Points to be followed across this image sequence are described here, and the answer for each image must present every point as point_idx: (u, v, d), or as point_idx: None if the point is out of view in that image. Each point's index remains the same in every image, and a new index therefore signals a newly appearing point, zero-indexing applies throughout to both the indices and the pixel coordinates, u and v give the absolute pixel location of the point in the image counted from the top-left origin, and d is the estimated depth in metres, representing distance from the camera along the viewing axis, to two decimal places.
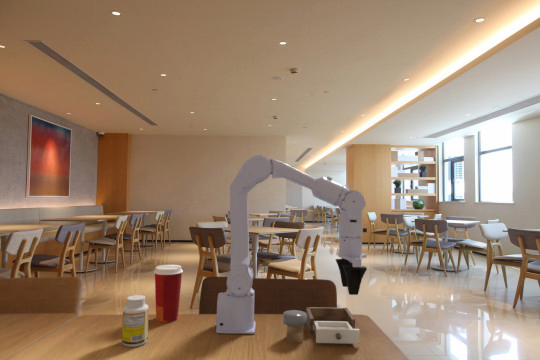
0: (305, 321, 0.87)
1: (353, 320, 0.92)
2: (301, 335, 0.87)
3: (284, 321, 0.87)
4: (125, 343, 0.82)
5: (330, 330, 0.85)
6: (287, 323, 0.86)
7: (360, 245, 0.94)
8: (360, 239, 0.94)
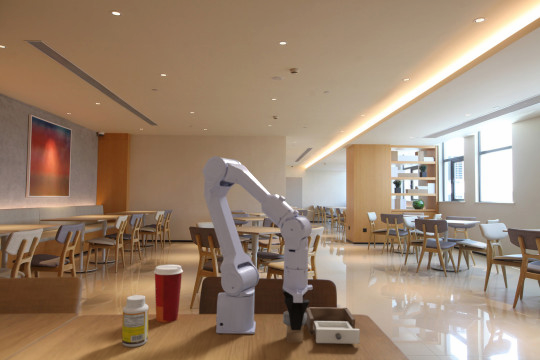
0: (305, 321, 0.87)
1: (353, 320, 0.92)
2: (301, 335, 0.87)
3: (284, 321, 0.87)
4: (125, 343, 0.82)
5: (330, 330, 0.85)
6: (287, 323, 0.86)
7: (305, 277, 0.87)
8: (305, 270, 0.87)
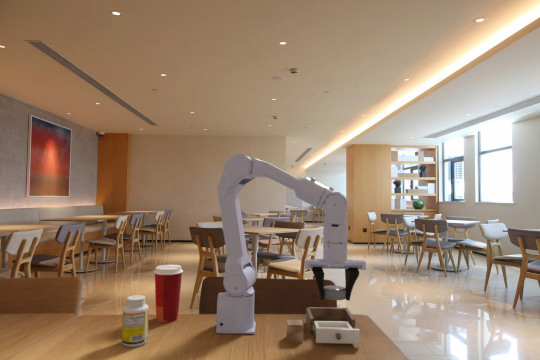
0: (330, 296, 0.87)
1: (353, 320, 0.92)
2: (301, 335, 0.87)
3: None
4: (125, 343, 0.82)
5: (330, 330, 0.85)
6: None
7: (328, 251, 0.88)
8: (328, 244, 0.88)
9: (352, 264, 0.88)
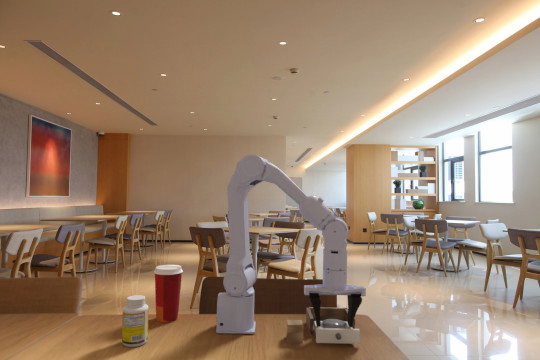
0: None
1: None
2: (301, 335, 0.87)
3: None
4: (125, 343, 0.82)
5: (330, 330, 0.85)
6: None
7: (328, 278, 0.88)
8: (328, 271, 0.88)
9: (352, 291, 0.88)
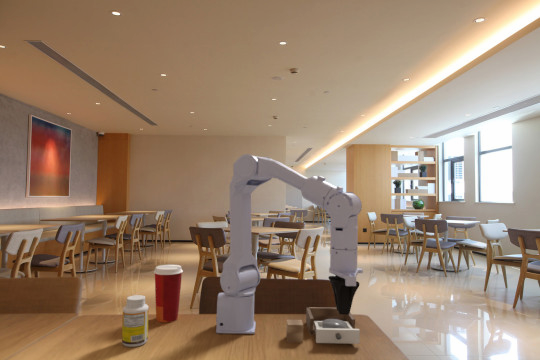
0: None
1: (353, 320, 0.92)
2: (301, 335, 0.87)
3: None
4: (125, 343, 0.82)
5: (330, 330, 0.85)
6: None
7: (355, 258, 0.78)
8: (355, 251, 0.78)
9: None
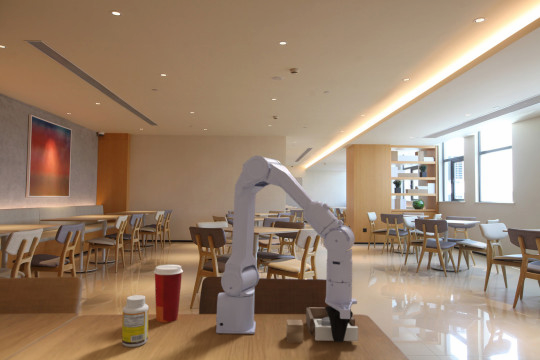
0: None
1: (353, 320, 0.92)
2: (301, 335, 0.87)
3: None
4: (125, 343, 0.82)
5: (329, 328, 0.86)
6: None
7: (350, 290, 0.83)
8: (350, 283, 0.83)
9: None
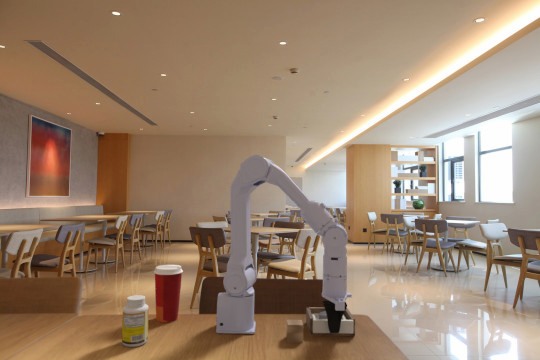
0: None
1: (353, 320, 0.92)
2: (301, 335, 0.87)
3: None
4: (125, 343, 0.82)
5: (326, 321, 0.91)
6: None
7: (344, 284, 0.88)
8: (344, 278, 0.88)
9: None
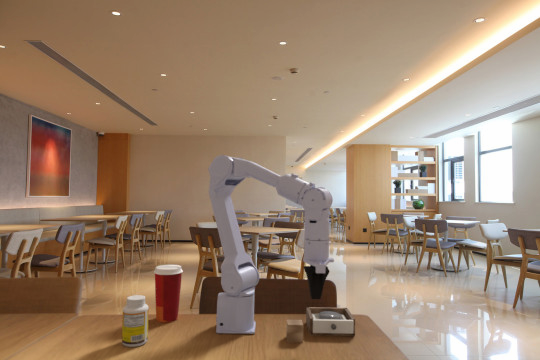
0: None
1: (353, 320, 0.92)
2: (301, 335, 0.87)
3: None
4: (125, 343, 0.82)
5: (326, 321, 0.91)
6: None
7: (326, 248, 0.85)
8: (326, 242, 0.85)
9: None
